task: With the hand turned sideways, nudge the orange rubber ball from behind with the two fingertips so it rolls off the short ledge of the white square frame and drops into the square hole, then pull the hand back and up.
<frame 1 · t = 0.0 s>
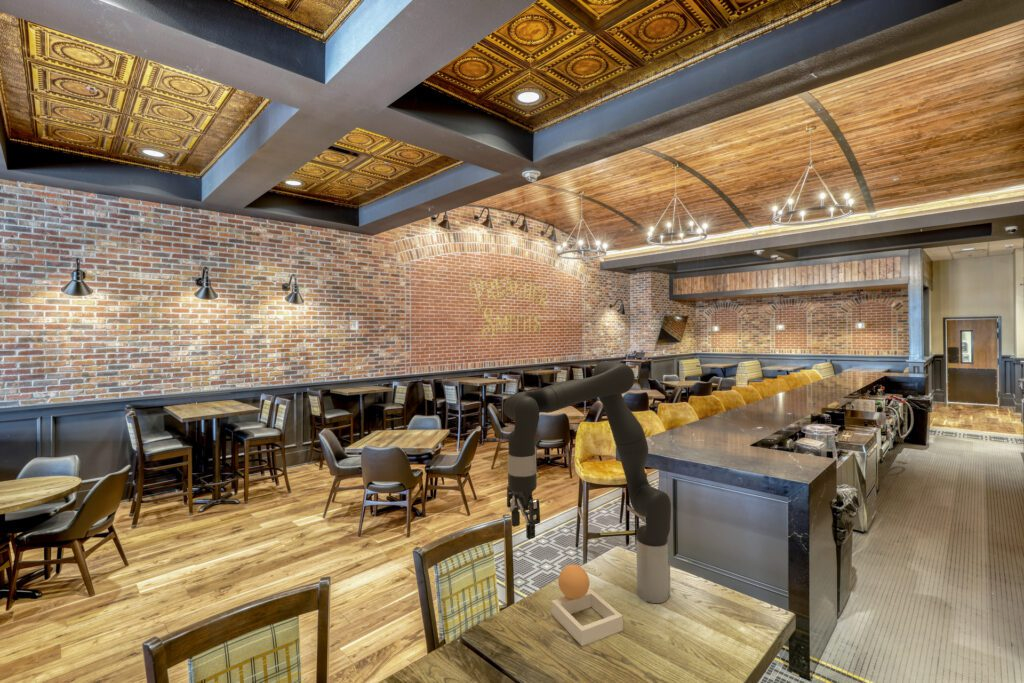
hand: (522, 531, 119), 29 cm above the table, tool pointing down, fingers open, 8 cm apart
ball: (573, 581, 132), point 8 cm above the table, touching white square frame
white square frame: (586, 622, 127), on the table
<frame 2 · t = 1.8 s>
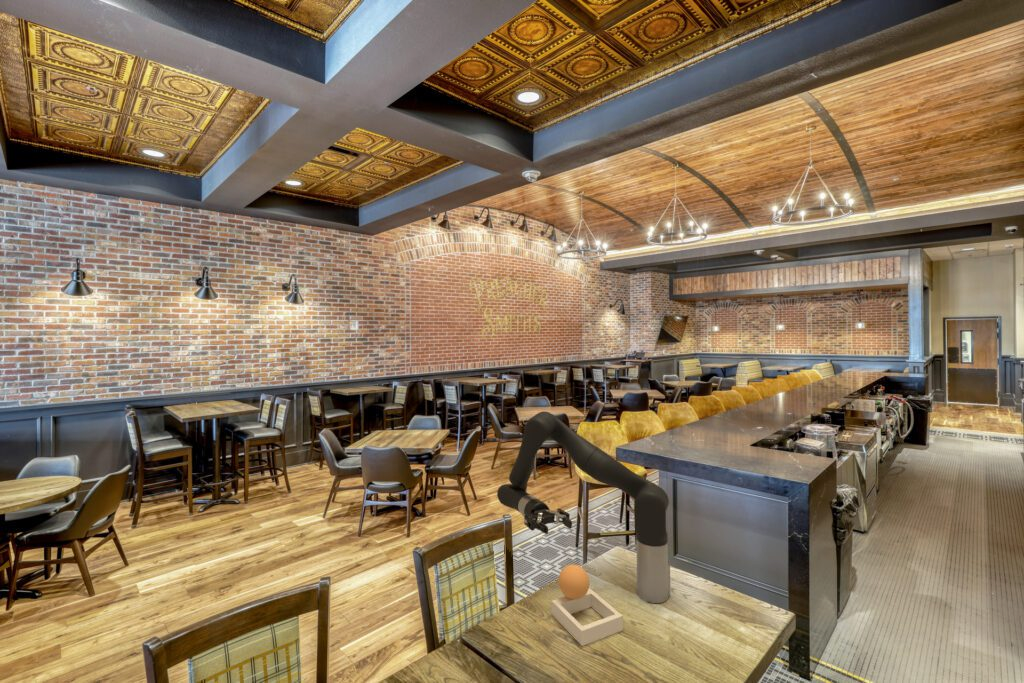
hand: (559, 527, 138), 22 cm above the table, tool horizontal, fingers open, 8 cm apart
nothing on the table moved.
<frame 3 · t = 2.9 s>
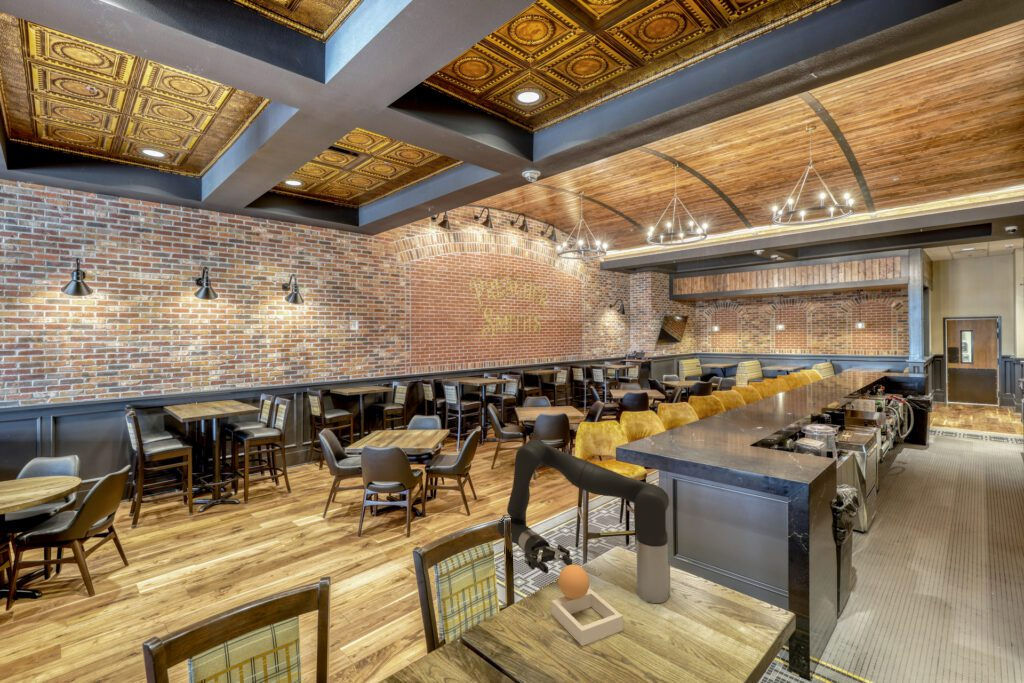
hand: (559, 567, 139), 9 cm above the table, tool horizontal, fingers open, 8 cm apart
nothing on the table moved.
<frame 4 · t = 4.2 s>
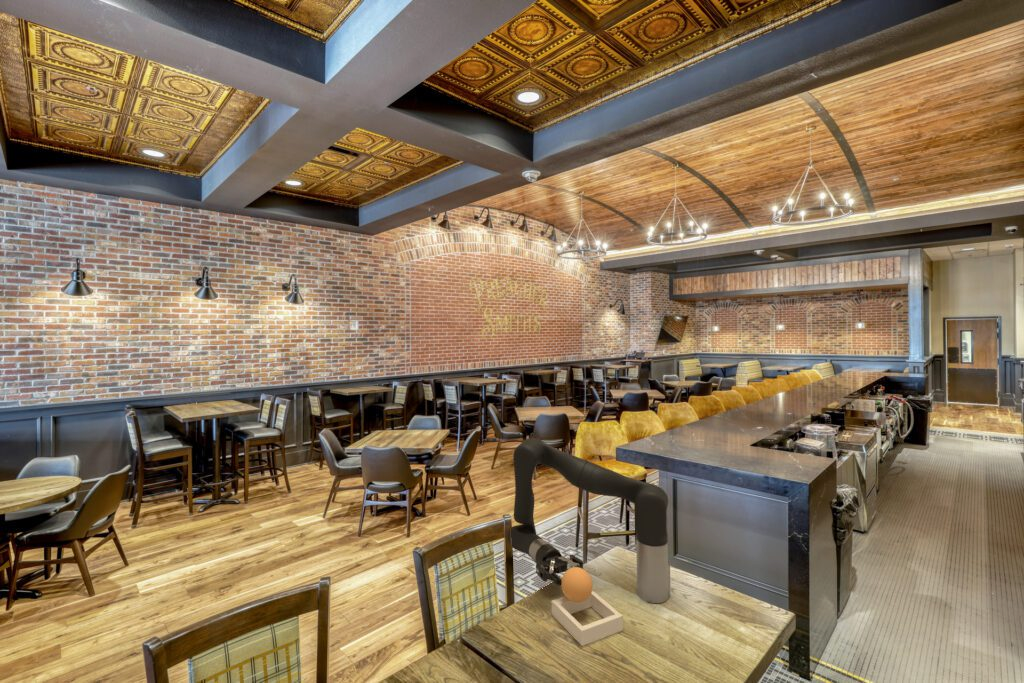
hand: (572, 578, 132), 9 cm above the table, tool horizontal
ball: (576, 584, 130), point 8 cm above the table, touching gripper
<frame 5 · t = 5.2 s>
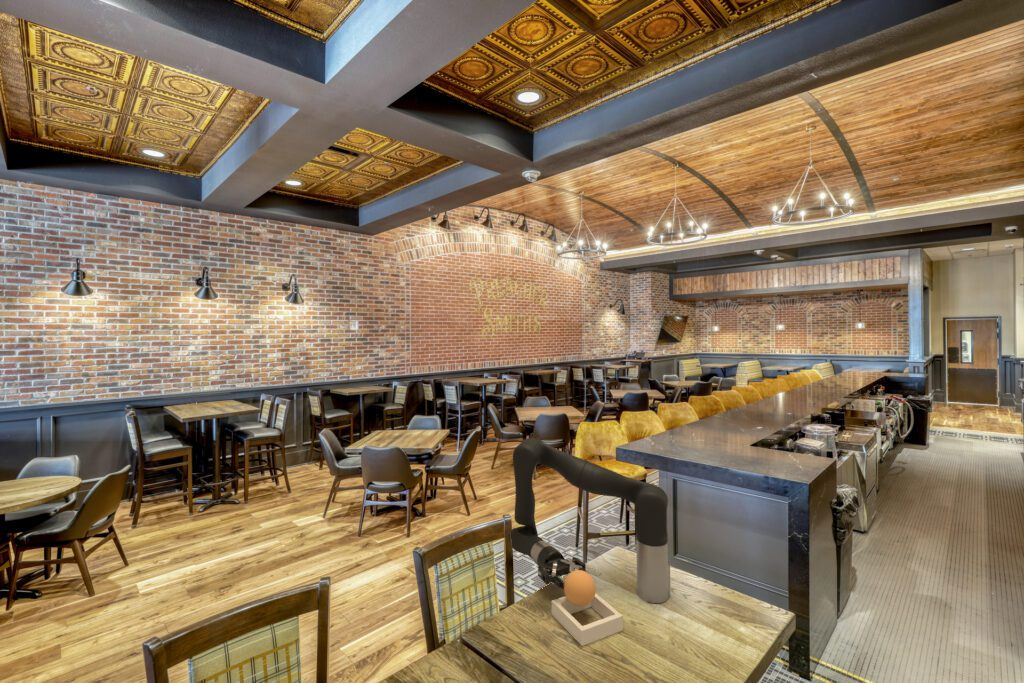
hand: (575, 582, 131), 9 cm above the table, tool horizontal
ball: (579, 587, 129), point 8 cm above the table, tilted 5°, touching gripper
when the fingers open (9 cm above the table, at t = 5.6 s): ball drops 4 cm and tips over, point 4 cm above the table.
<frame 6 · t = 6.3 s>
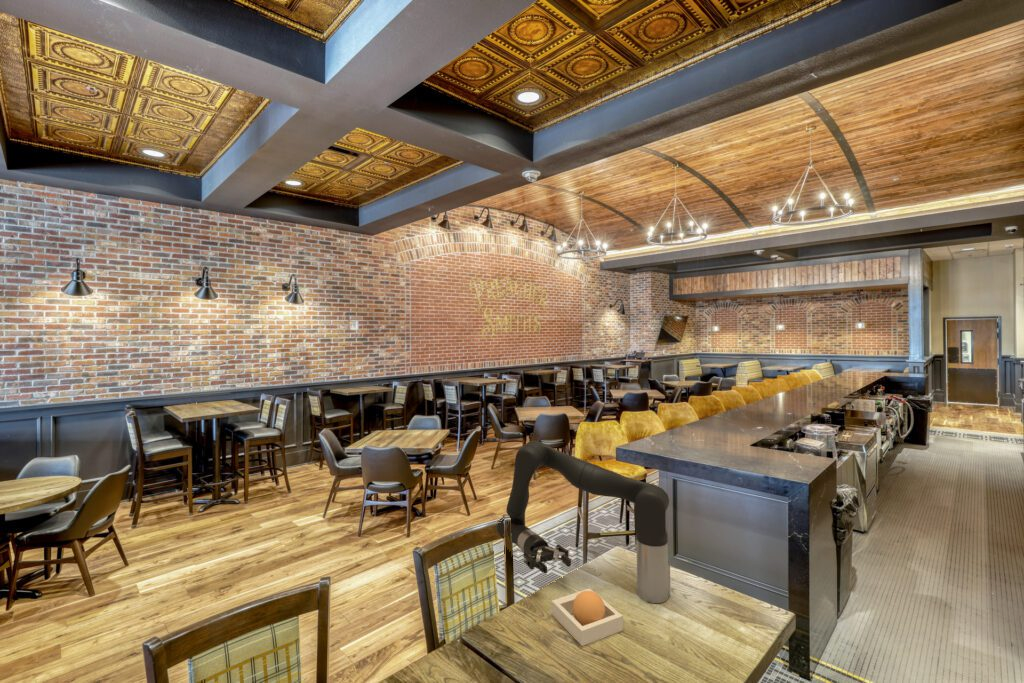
hand: (558, 567, 139), 9 cm above the table, tool horizontal, fingers open, 8 cm apart
ball: (588, 609, 125), point 4 cm above the table, tilted 94°
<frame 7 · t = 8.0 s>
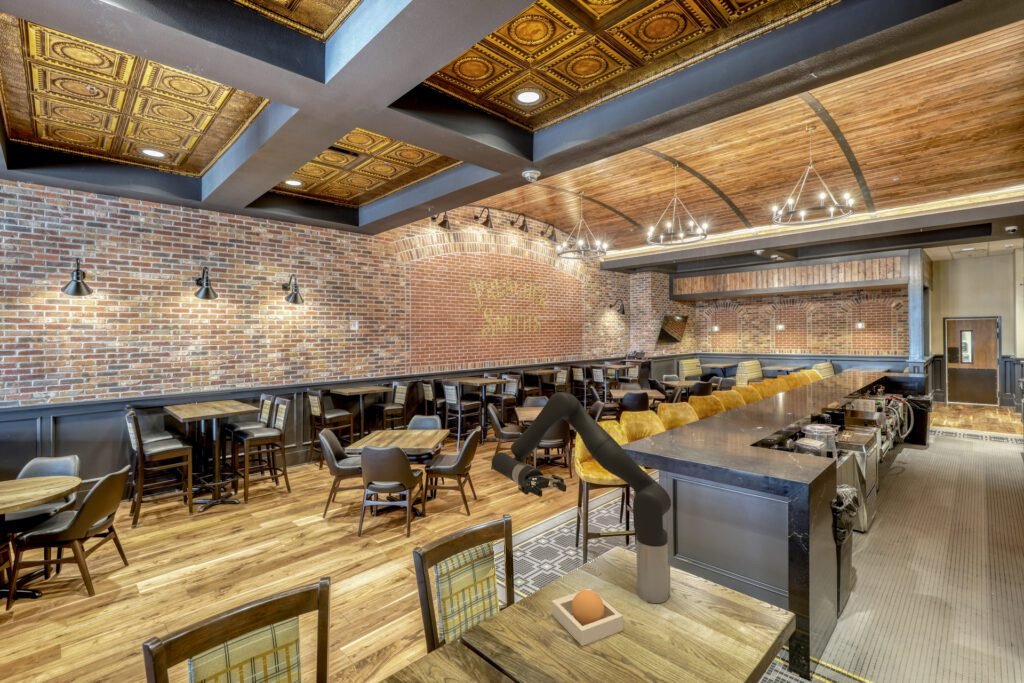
hand: (553, 491, 137), 33 cm above the table, tool horizontal, fingers open, 8 cm apart
ball: (587, 608, 126), point 4 cm above the table, tilted 89°
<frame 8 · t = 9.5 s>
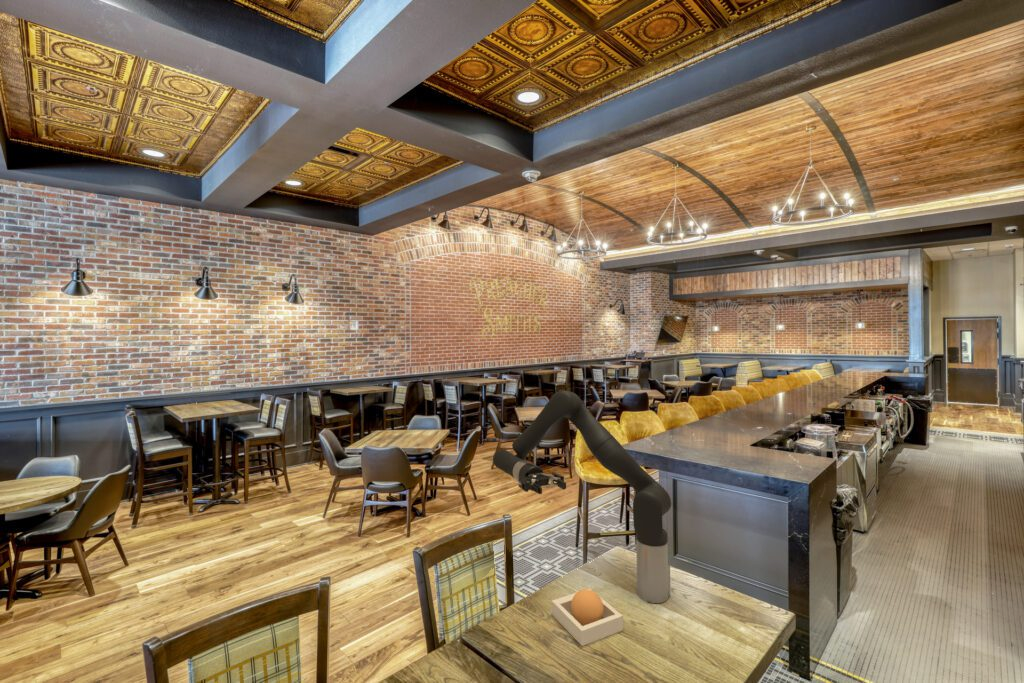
hand: (553, 488, 137), 34 cm above the table, tool horizontal, fingers open, 8 cm apart
nothing on the table moved.
at the end: ball inside the target area on the white square frame (0.4 cm from its centre), point 4.5 cm above the white square frame's base; ball moved 7.7 cm from its start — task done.
